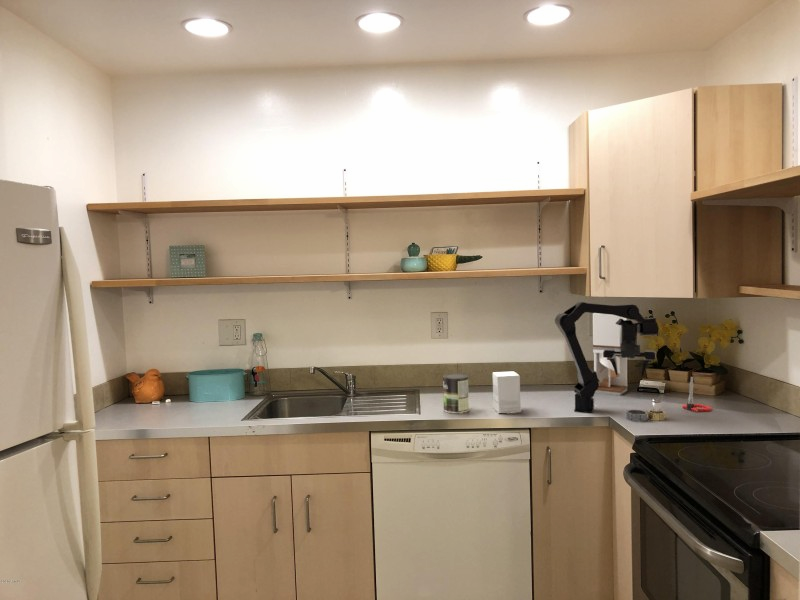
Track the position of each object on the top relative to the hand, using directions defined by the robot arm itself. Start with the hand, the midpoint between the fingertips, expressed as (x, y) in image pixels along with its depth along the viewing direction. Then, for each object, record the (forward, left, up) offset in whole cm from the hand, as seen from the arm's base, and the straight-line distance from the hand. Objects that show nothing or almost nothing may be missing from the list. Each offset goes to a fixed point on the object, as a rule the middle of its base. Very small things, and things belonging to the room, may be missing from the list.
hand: (629, 375), depth 224 cm
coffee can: (-63, -24, -13) cm, 69 cm away
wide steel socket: (+3, -14, -13) cm, 19 cm away
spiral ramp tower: (-10, +28, -13) cm, 33 cm away
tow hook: (+24, +8, -13) cm, 29 cm away
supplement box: (-44, -18, -13) cm, 49 cm away
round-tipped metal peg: (+10, -11, -13) cm, 20 cm away
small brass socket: (+10, -11, -13) cm, 20 cm away
